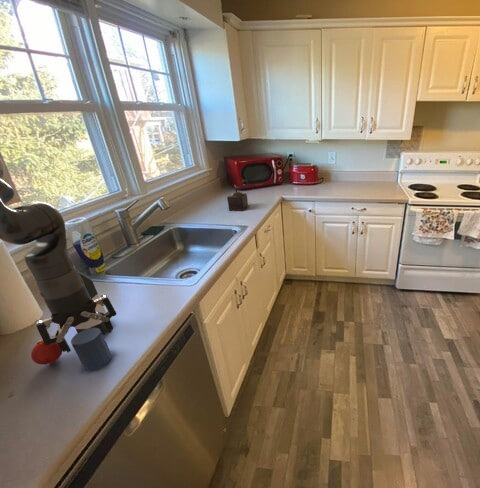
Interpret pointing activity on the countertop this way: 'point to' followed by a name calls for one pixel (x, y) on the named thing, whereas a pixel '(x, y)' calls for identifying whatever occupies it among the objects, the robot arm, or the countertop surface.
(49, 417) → the countertop surface
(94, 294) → the wine bottle
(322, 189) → the countertop surface
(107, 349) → the cup
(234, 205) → the manual coffee grinder
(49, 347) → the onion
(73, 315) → the robot arm
